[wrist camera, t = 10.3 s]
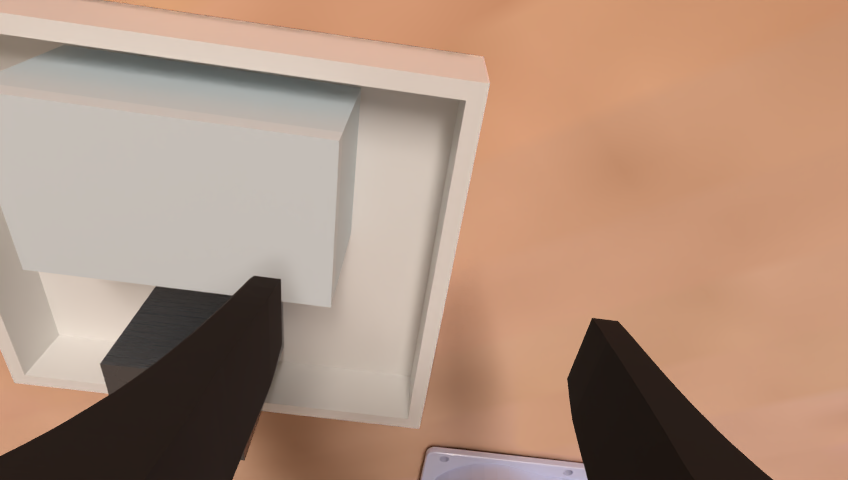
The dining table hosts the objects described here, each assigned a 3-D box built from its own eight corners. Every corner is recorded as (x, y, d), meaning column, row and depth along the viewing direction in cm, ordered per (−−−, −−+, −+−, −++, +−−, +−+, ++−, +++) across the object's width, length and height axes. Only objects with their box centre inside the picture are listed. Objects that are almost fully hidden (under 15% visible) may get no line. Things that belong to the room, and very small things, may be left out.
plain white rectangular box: (361, 87, 18) (339, 140, 15) (351, 233, 22) (330, 307, 18) (63, 45, 18) (-41, 88, 14) (99, 200, 21) (22, 269, 17)
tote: (483, 56, 18) (489, 83, 16) (421, 378, 27) (419, 428, 24) (-65, -25, 17) (-151, -10, 15) (55, 335, 26) (14, 382, 24)
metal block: (282, 271, 23) (237, 379, 18) (283, 346, 25) (244, 460, 20) (175, 258, 23) (99, 364, 18) (187, 335, 25) (123, 447, 20)
